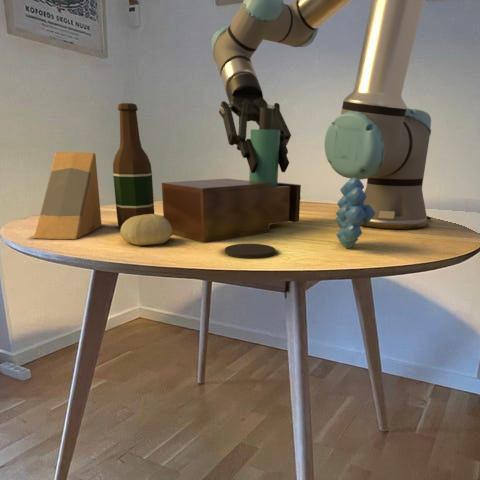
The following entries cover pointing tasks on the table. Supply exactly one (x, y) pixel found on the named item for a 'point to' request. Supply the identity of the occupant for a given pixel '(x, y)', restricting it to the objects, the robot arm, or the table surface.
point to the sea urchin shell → (146, 230)
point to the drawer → (284, 203)
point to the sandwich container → (70, 198)
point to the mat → (250, 250)
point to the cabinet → (216, 208)
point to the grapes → (352, 212)
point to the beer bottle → (131, 170)
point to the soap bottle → (266, 149)
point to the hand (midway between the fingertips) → (270, 167)
